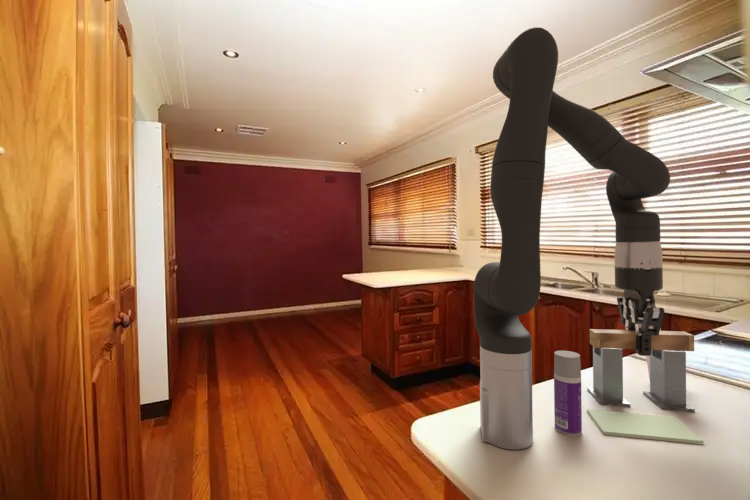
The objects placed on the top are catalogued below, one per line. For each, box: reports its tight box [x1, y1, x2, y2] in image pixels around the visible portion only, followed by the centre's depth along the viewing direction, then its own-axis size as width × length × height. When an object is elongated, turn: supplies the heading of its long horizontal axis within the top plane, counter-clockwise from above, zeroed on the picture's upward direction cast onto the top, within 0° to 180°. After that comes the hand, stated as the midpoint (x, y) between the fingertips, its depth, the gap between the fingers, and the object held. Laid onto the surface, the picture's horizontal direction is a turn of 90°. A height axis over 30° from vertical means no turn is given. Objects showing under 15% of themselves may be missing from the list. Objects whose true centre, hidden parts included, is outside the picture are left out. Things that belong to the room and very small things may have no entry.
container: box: [553, 350, 583, 437], centre depth 68 cm, size 5×5×15 cm
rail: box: [589, 328, 695, 352], centre depth 69 cm, size 17×3×3 cm, turn 76°
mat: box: [586, 409, 705, 445], centre depth 69 cm, size 16×9×1 cm, turn 76°
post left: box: [586, 346, 631, 408], centre depth 82 cm, size 6×8×12 cm
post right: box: [642, 350, 696, 413], centre depth 79 cm, size 6×8×12 cm
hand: (639, 351), depth 69 cm, fingers closed on rail, 3 cm apart
